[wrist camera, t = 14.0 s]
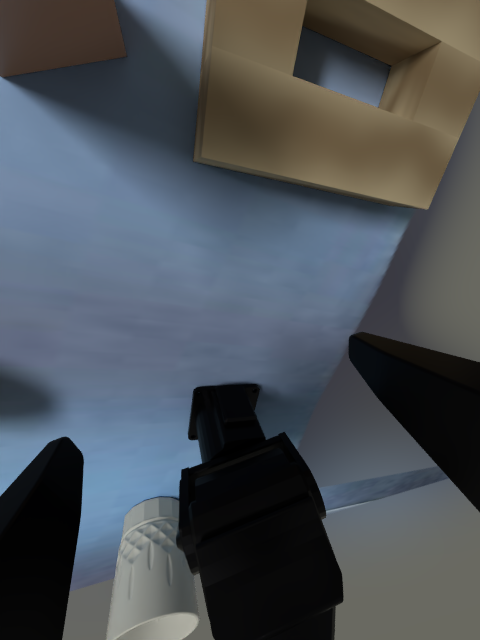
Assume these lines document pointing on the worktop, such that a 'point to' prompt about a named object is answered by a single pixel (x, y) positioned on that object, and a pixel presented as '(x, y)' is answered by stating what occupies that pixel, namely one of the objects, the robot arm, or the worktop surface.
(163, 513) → the white cup
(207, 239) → the worktop surface
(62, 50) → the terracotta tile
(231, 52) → the pine slot box
